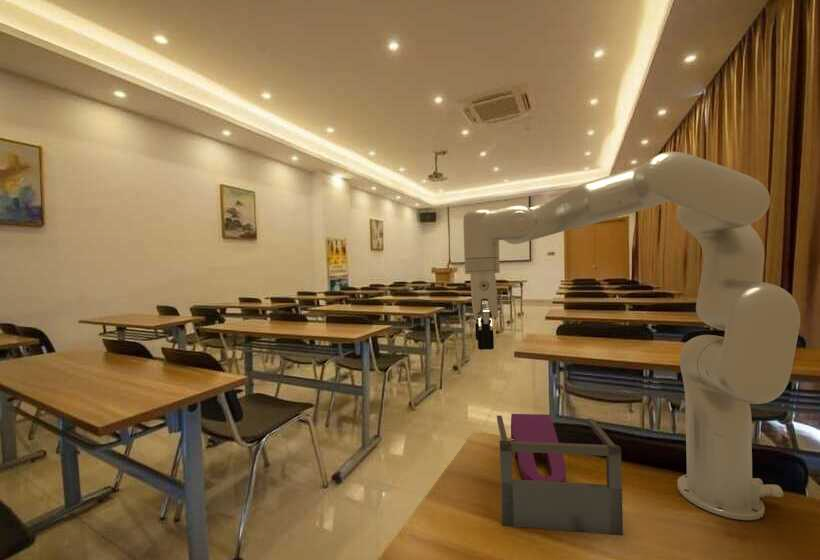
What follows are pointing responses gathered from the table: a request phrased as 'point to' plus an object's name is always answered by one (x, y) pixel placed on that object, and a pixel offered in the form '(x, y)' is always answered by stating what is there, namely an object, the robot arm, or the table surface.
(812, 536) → the table surface
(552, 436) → the mounting bracket
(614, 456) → the rack
